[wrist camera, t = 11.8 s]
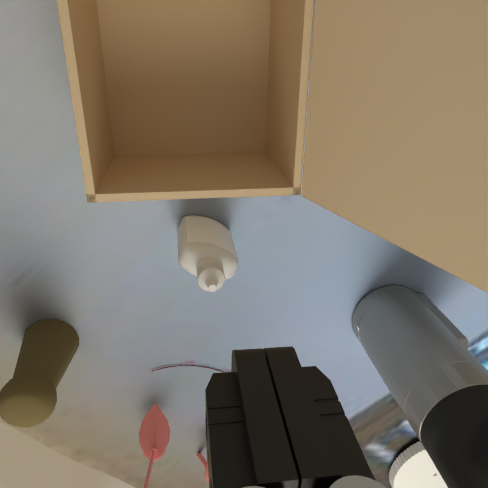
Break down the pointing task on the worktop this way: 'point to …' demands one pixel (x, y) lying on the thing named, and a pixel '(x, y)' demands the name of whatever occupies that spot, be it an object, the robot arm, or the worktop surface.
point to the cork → (38, 373)
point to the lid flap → (403, 125)
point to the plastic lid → (415, 470)
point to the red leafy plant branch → (159, 435)
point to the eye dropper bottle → (206, 251)
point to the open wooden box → (188, 96)
